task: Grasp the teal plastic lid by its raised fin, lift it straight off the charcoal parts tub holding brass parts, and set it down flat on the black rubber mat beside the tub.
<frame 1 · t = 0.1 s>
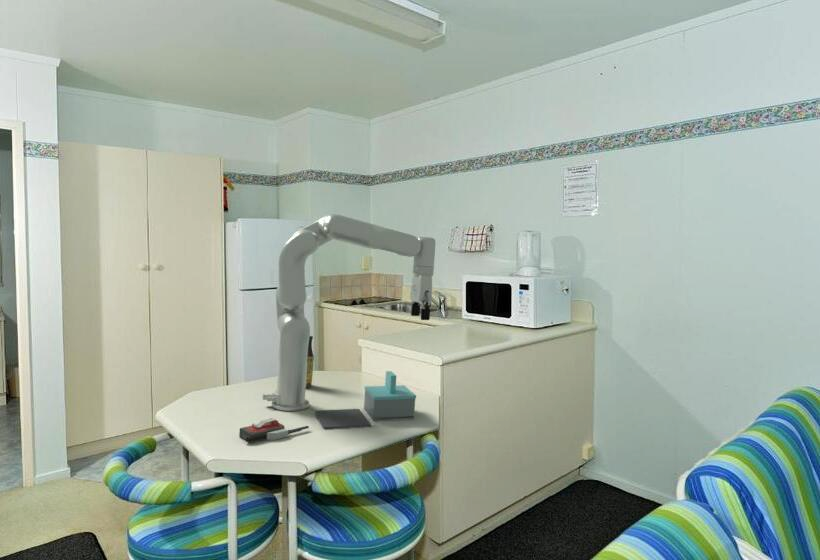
hand: (420, 317, 196), 31 cm above the table, tool pointing down, fingers open, 9 cm apart
tub: (388, 414, 182), on the table
mat: (342, 419, 173), on the table
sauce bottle: (303, 386, 209), on the table
lid: (389, 393, 181), point 7 cm above the table, touching tub
walkie-talkie: (273, 436, 156), on the table
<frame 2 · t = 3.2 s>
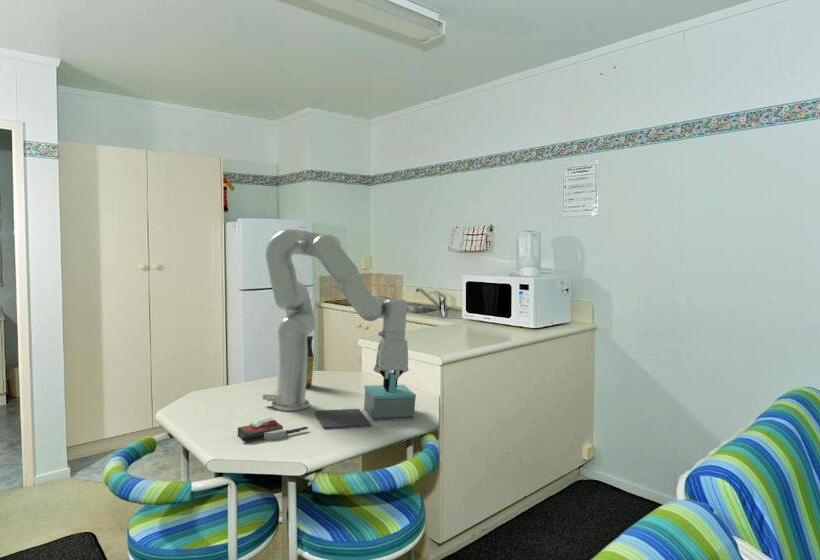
hand: (389, 389, 181), 9 cm above the table, tool pointing down, fingers closed on lid
lid: (389, 393, 181), point 7 cm above the table, touching gripper
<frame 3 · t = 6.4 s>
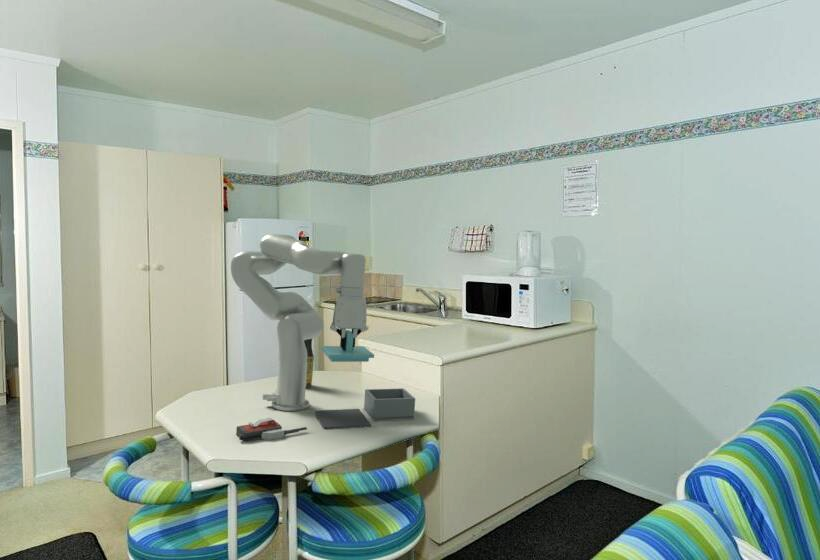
hand: (347, 349, 172), 23 cm above the table, tool pointing down, fingers closed on lid
lid: (346, 353, 172), point 22 cm above the table, touching gripper
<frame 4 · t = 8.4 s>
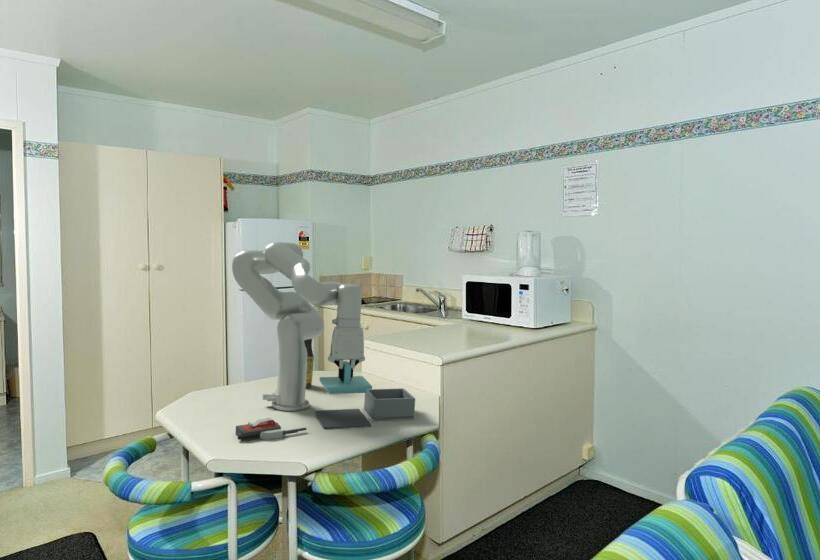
hand: (345, 379, 172), 13 cm above the table, tool pointing down, fingers closed on lid
lid: (345, 384, 172), point 11 cm above the table, touching gripper
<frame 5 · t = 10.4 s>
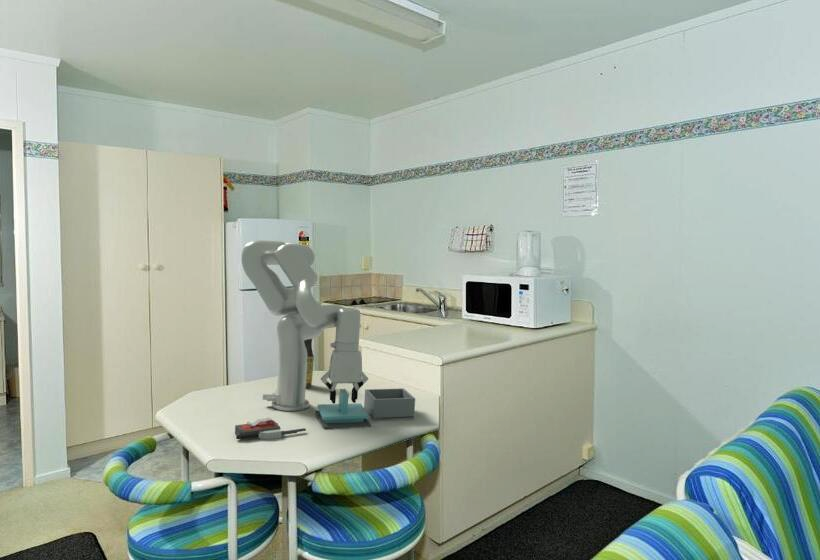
hand: (343, 401, 173), 6 cm above the table, tool pointing down, fingers open, 6 cm apart
lid: (342, 412, 173), point 2 cm above the table, touching mat
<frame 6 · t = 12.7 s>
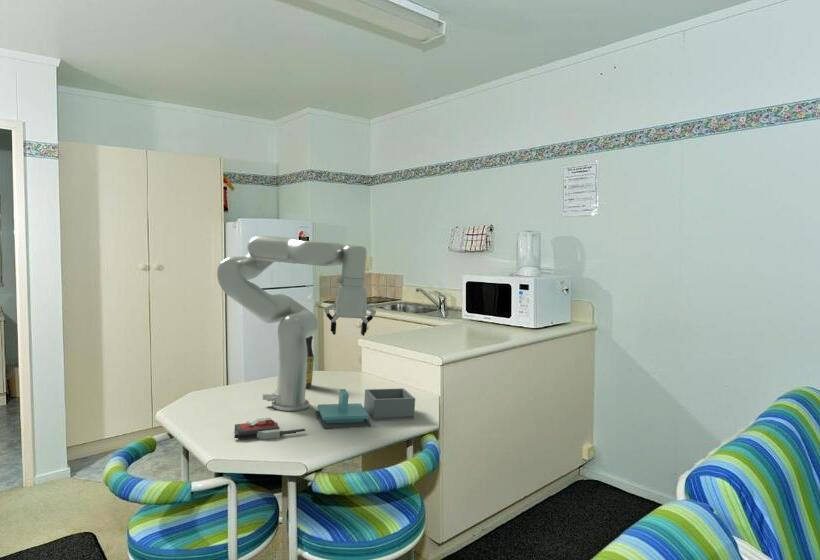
hand: (348, 334, 178), 27 cm above the table, tool pointing down, fingers open, 9 cm apart
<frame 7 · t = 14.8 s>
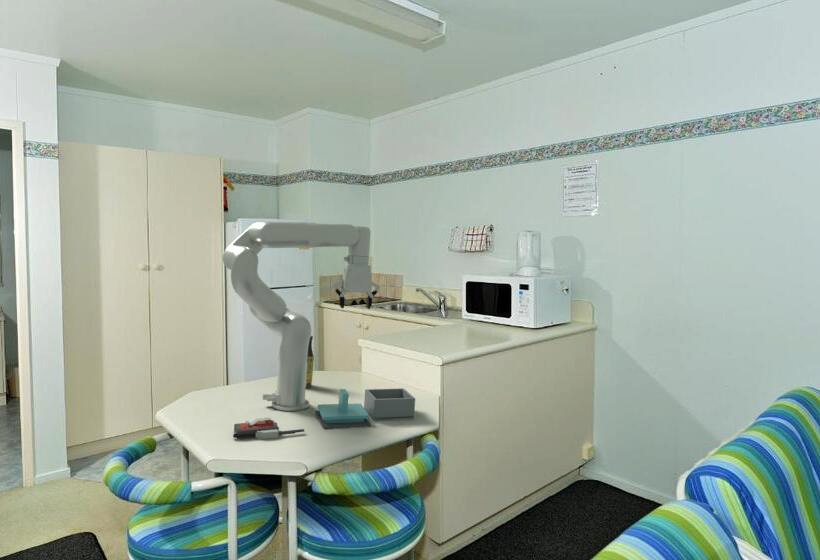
hand: (355, 308, 194), 33 cm above the table, tool pointing down, fingers open, 9 cm apart
at the end: lid inside the target area on the mat (0.0 cm from its centre), point 2.1 cm above the mat's base; lid tilted 0°; lid touching mat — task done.
